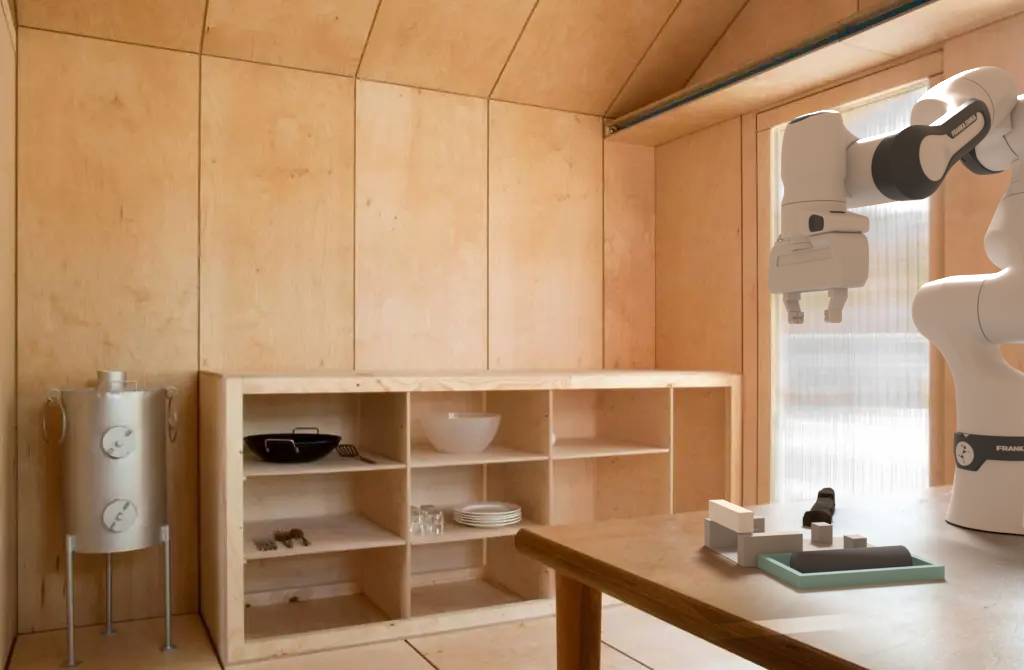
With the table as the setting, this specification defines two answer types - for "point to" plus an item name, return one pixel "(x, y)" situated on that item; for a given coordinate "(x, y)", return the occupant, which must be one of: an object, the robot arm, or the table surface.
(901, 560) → the dark grey cylinder
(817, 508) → the hand tool
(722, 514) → the cream square beam
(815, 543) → the cradle
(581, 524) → the table surface
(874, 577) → the tray
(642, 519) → the table surface
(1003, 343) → the robot arm
